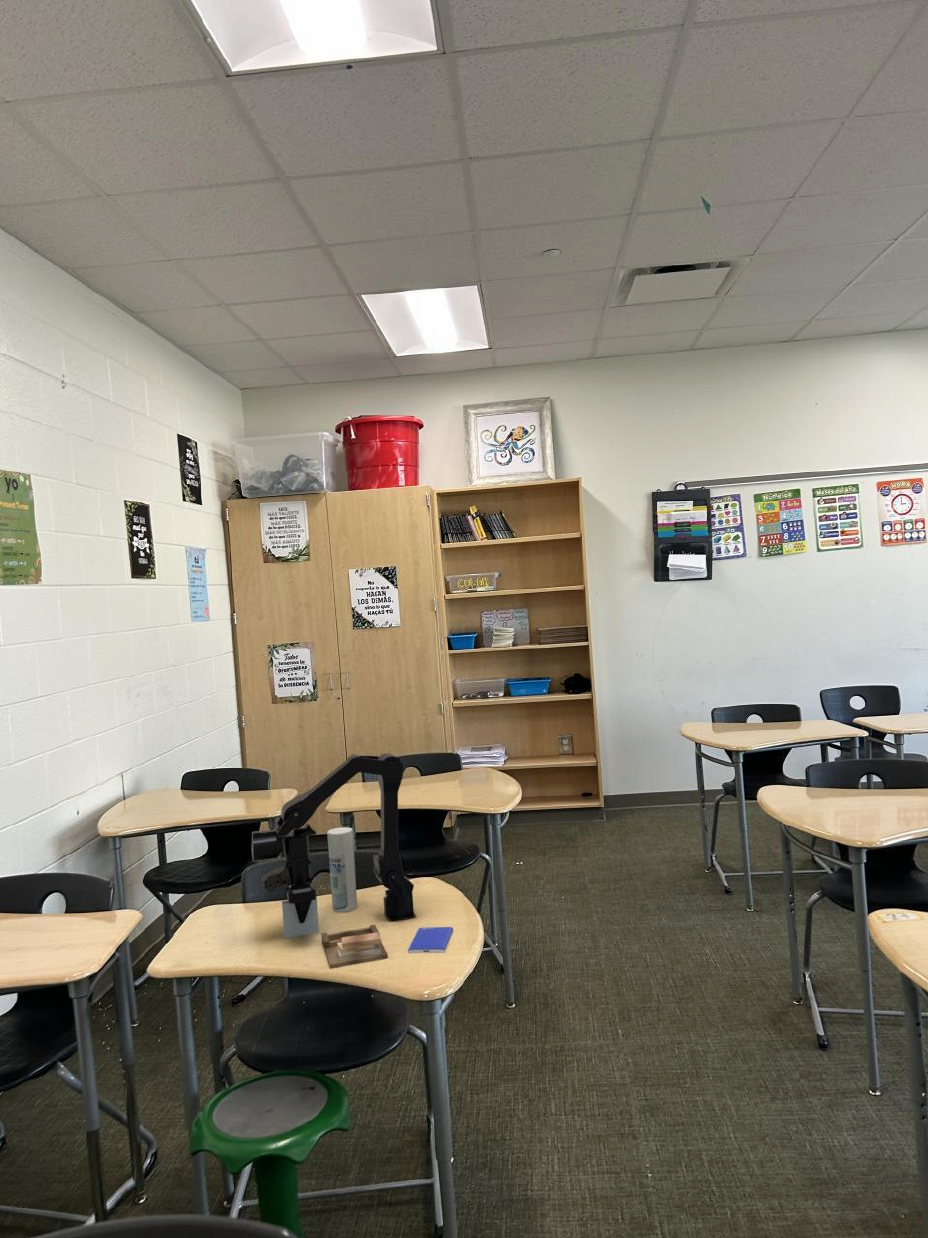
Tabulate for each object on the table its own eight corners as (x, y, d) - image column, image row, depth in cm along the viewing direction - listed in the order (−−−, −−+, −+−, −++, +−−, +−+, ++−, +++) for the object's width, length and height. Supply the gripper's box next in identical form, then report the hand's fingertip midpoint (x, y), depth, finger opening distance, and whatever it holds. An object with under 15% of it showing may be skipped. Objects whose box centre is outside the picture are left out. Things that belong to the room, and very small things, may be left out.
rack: (375, 933, 189) (374, 924, 189) (387, 958, 174) (387, 947, 174) (322, 943, 185) (321, 933, 185) (329, 968, 171) (329, 958, 171)
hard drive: (418, 927, 188) (407, 948, 176) (453, 926, 187) (444, 948, 175) (418, 934, 188) (408, 956, 176) (453, 933, 187) (445, 955, 175)
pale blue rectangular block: (318, 929, 194) (315, 896, 194) (319, 933, 192) (316, 899, 192) (283, 935, 192) (281, 901, 192) (284, 938, 190) (282, 904, 190)
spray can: (326, 910, 207) (321, 832, 208) (346, 902, 212) (341, 826, 213) (344, 914, 203) (338, 834, 203) (363, 906, 208) (357, 828, 208)
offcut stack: (378, 945, 179) (377, 930, 179) (382, 954, 174) (381, 938, 174) (336, 953, 177) (335, 937, 177) (339, 961, 172) (338, 945, 172)
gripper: (260, 850, 199) (264, 914, 199) (263, 870, 181) (268, 940, 181) (306, 844, 202) (310, 906, 202) (314, 863, 184) (318, 932, 184)
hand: (301, 921), depth 192 cm, fingers open, 3 cm apart
